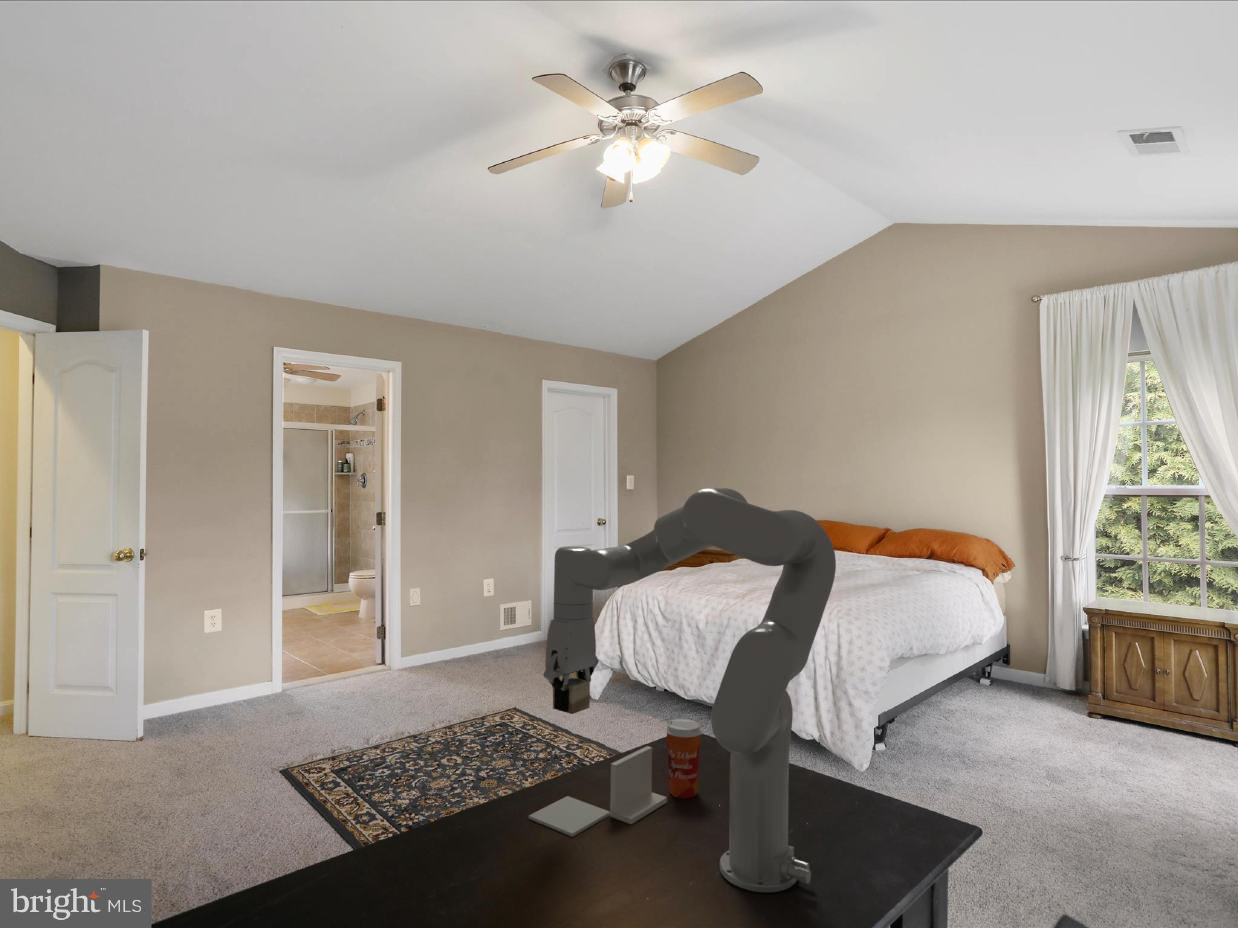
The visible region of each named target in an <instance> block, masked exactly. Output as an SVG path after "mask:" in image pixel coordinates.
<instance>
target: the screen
mask: <svg viewBox="0 0 1238 928" xmlns="http://www.w3.org/2000/svg"><path fill="white" fill-rule="evenodd" d="M652 770H653V747H651V746H649V745H648V746H645V747H642V748H640V749H638V750H635V751H634V752H632V753H630V754H627V755H626V756H624V757H622V758H620V759H618V760H616V761H614V762H612V763H610V804H609V807H610V808H609V810H610V811H609V812H610V815H609V816H610V818H612V819H616V820H618V821H622V823H623V822H624V823H626V824H629V825H633V824H634V823H636V822H637V821H639V820H641V819H642V818H644V817H646V816H647V815H648V814H650V813H652V812H654V811H656V810H657V809H658V808H661V807H662V806H663V805H665V804H666V803H668V797H667V796H665V795H660V794H658V793H655V792H654V791H653V792H652V789H653V788H652V787H653V786H652V777H653V776H652V775H653V774H652V773H653V771H652Z"/></svg>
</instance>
